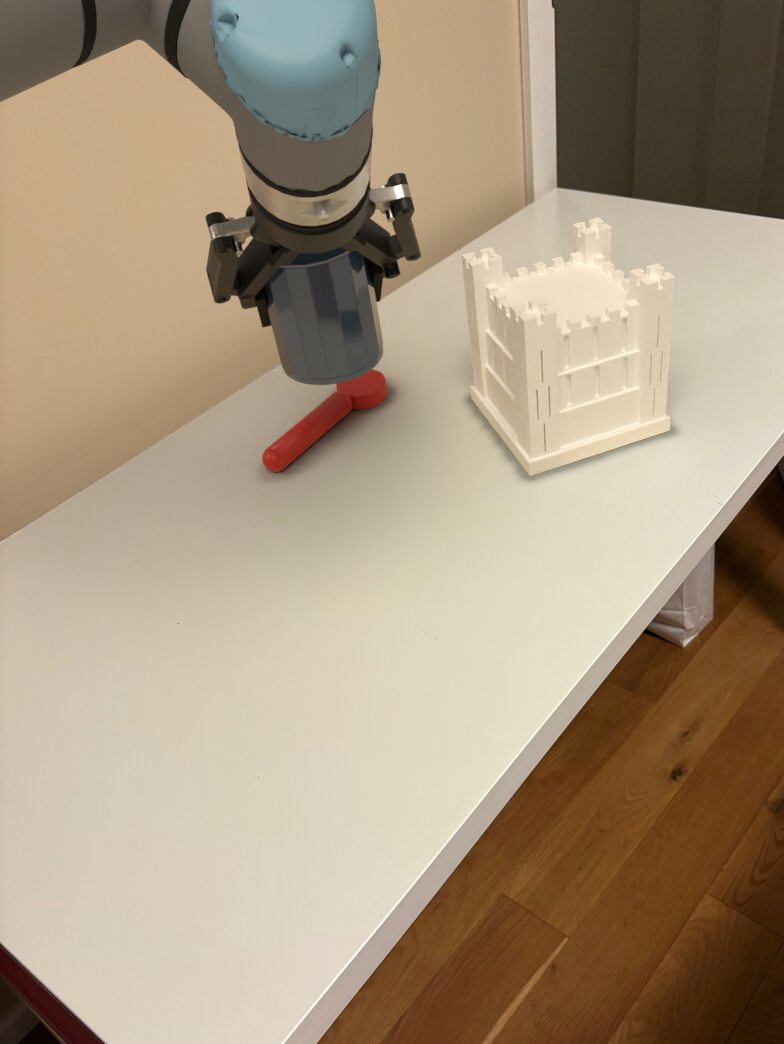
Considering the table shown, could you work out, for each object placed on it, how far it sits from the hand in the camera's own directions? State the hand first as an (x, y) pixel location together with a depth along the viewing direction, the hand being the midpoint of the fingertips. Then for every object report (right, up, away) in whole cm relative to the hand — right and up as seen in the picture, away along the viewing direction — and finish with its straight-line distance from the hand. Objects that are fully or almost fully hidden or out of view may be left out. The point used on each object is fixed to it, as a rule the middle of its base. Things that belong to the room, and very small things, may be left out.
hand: (317, 298), depth 79 cm
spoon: (-1, -8, +14) cm, 16 cm away
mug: (+1, -3, +2) cm, 4 cm away
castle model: (+22, -7, +12) cm, 26 cm away
